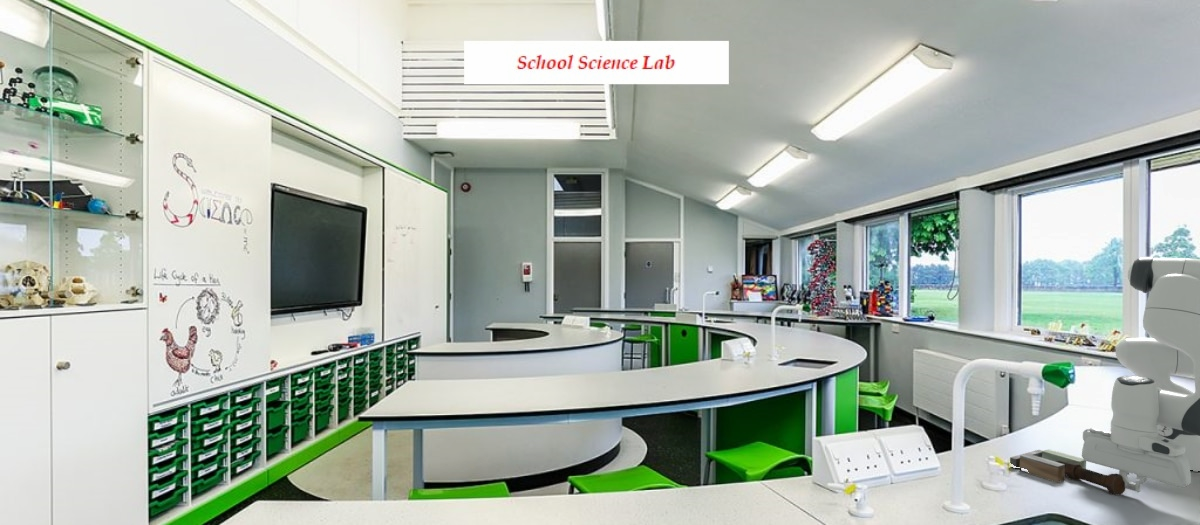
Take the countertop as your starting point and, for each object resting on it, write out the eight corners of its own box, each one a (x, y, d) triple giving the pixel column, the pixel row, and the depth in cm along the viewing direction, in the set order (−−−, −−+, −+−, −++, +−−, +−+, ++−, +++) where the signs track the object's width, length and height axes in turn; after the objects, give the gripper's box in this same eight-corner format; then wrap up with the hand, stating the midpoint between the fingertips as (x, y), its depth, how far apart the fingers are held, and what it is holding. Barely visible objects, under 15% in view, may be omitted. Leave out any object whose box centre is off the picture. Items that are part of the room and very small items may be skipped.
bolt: (1058, 478, 151) (1121, 499, 137) (1047, 470, 150) (1110, 491, 136) (1065, 460, 152) (1128, 479, 137) (1054, 452, 151) (1117, 471, 136)
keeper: (1038, 459, 161) (1039, 444, 161) (1085, 473, 151) (1086, 457, 151) (1009, 467, 154) (1010, 452, 154) (1057, 482, 143) (1057, 466, 143)
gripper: (1078, 427, 144) (1076, 476, 144) (1185, 452, 126) (1183, 508, 126) (1088, 425, 147) (1086, 473, 147) (1194, 449, 128) (1192, 503, 128)
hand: (1132, 489), depth 136 cm, fingers closed
